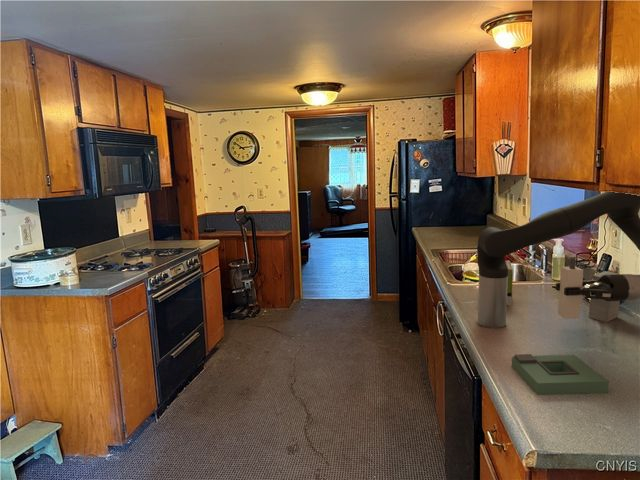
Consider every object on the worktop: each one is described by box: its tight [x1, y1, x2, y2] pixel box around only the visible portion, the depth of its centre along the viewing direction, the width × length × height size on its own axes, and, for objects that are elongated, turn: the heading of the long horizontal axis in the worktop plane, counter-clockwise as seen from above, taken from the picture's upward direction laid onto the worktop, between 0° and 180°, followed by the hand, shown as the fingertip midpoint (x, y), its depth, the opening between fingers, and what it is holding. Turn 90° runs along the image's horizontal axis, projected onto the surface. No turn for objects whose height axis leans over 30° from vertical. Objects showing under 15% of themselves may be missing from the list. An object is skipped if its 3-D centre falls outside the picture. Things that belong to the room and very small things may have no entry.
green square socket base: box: [511, 353, 610, 396], centre depth 116 cm, size 15×17×4 cm
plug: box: [557, 257, 584, 320], centre depth 126 cm, size 4×4×17 cm
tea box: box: [505, 260, 514, 306], centre depth 180 cm, size 15×10×15 cm
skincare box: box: [588, 270, 621, 323], centre depth 155 cm, size 8×7×16 cm
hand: (560, 289), depth 126 cm, fingers closed on plug, 4 cm apart
